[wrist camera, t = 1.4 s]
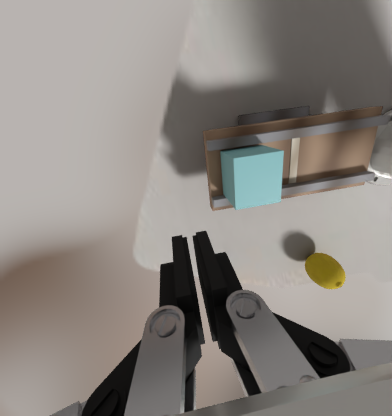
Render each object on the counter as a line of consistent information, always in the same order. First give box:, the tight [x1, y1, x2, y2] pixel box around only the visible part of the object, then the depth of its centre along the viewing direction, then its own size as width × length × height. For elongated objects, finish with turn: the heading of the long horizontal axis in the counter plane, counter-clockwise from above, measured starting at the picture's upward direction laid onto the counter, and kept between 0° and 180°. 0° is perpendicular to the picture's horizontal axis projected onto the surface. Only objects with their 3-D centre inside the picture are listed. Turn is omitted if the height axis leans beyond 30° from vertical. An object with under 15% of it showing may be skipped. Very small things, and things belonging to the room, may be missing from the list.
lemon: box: [305, 253, 345, 289], centre depth 37 cm, size 6×6×8 cm
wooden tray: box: [203, 106, 390, 211], centre depth 28 cm, size 22×12×7 cm, turn 97°
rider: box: [220, 145, 284, 210], centre depth 23 cm, size 5×5×5 cm
